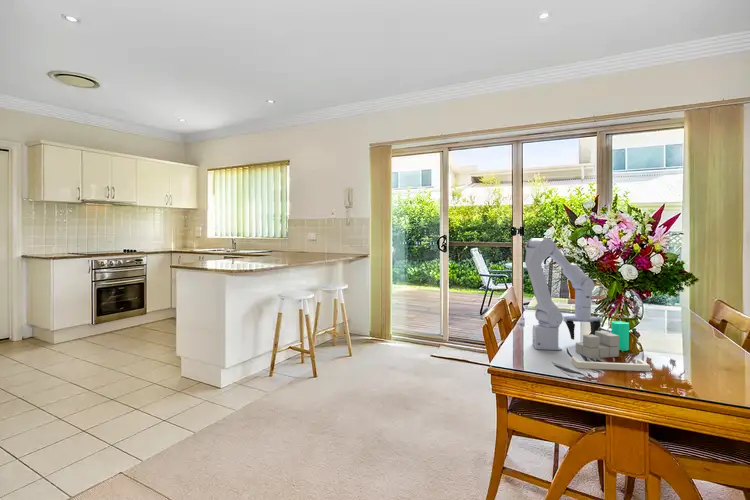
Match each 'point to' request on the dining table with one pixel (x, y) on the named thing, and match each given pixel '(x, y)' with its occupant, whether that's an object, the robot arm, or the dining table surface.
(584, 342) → the grey stepped blocky piece
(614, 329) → the candle
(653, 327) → the dining table surface
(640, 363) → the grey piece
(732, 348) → the dining table surface
